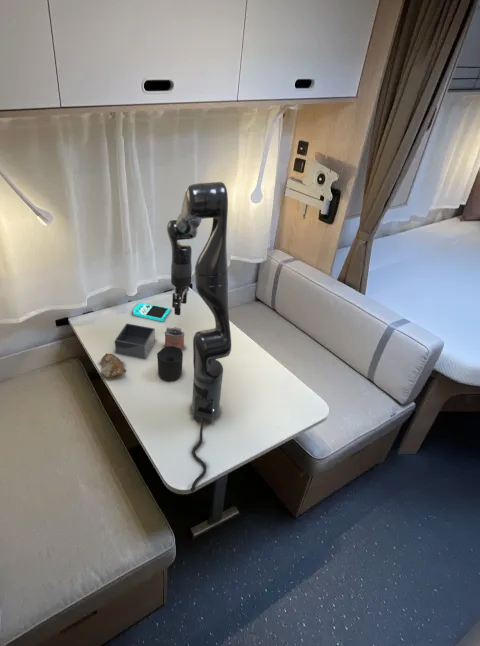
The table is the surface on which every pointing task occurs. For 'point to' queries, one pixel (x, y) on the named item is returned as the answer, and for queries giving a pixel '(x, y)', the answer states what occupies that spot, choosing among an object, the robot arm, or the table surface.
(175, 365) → the pen holder
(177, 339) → the lighter
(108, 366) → the decorative stone
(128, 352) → the grey square tray
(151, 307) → the handheld game console
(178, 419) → the table surface
